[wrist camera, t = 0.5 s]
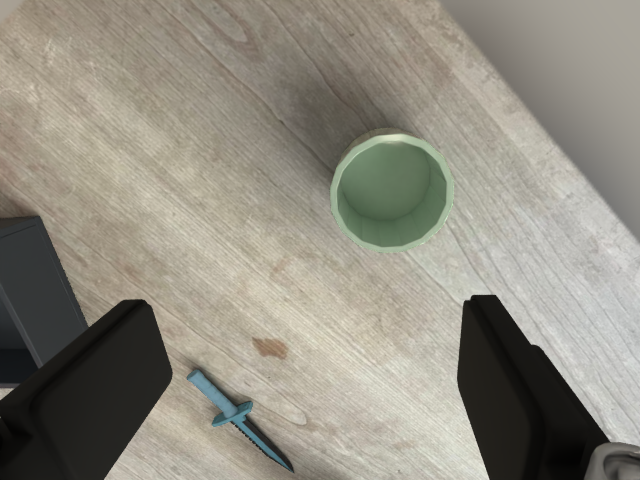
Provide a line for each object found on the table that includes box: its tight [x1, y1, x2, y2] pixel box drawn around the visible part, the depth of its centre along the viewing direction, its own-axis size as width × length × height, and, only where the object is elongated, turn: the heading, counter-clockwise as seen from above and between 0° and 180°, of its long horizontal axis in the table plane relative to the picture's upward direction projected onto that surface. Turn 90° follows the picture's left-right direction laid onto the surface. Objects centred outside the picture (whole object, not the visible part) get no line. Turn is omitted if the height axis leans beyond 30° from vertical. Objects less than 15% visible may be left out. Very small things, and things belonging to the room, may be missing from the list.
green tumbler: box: [329, 127, 454, 253], centre depth 21 cm, size 7×7×6 cm
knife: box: [187, 370, 294, 473], centre depth 34 cm, size 17×1×5 cm
